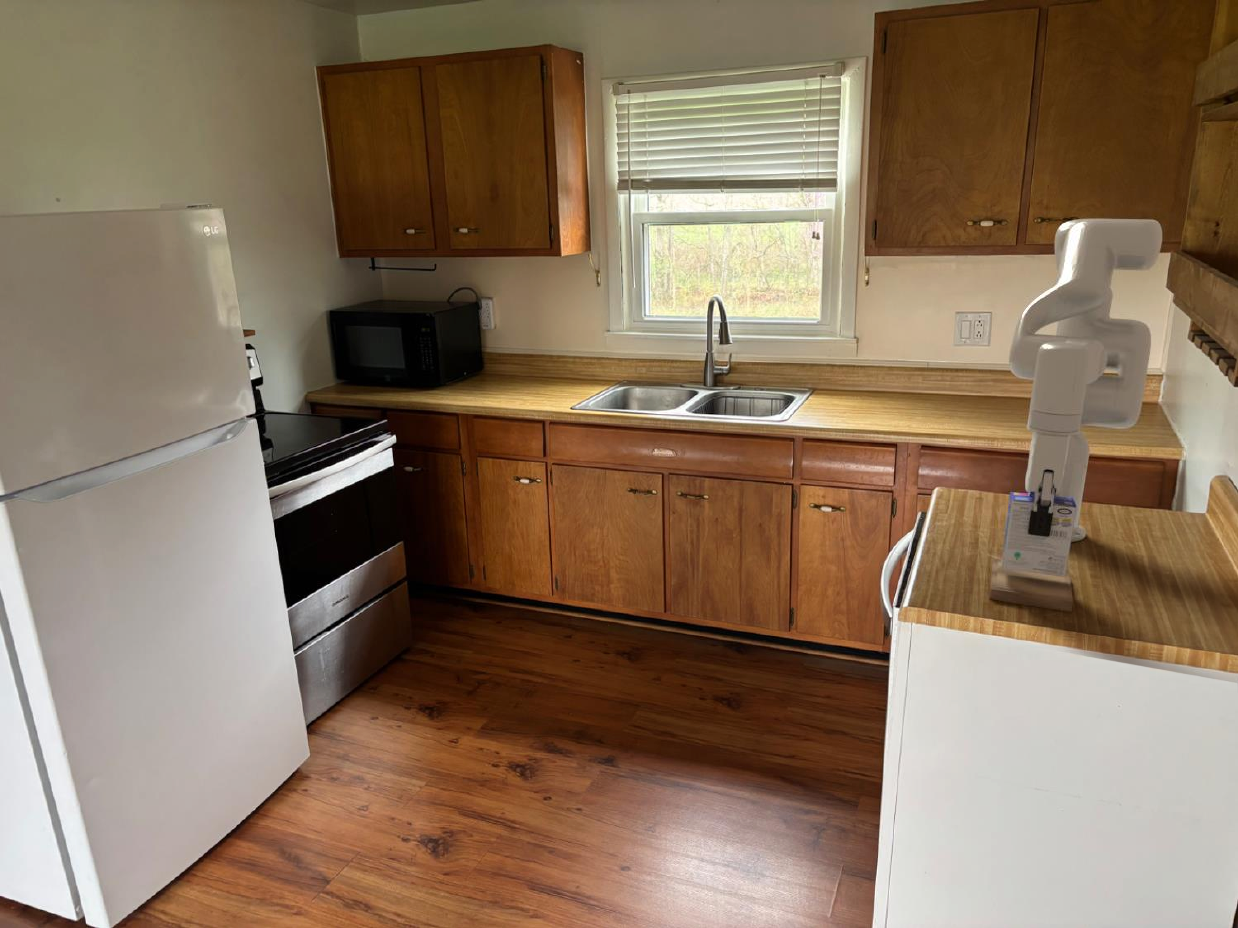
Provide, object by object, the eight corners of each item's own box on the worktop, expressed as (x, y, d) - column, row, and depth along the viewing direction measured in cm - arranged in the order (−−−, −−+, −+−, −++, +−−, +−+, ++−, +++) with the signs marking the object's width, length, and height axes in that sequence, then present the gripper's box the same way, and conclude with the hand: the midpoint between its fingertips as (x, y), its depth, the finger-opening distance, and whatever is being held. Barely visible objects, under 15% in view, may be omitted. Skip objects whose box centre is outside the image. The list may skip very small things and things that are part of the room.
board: (991, 568, 157) (993, 558, 157) (1067, 579, 153) (1068, 569, 152) (989, 598, 145) (991, 588, 144) (1071, 612, 140) (1073, 601, 140)
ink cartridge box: (1063, 566, 149) (1077, 483, 144) (1067, 578, 144) (1081, 493, 139) (1000, 557, 152) (1011, 476, 148) (1001, 569, 147) (1012, 486, 143)
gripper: (1027, 408, 150) (1013, 510, 155) (1028, 430, 135) (1013, 542, 140) (1077, 413, 147) (1061, 516, 152) (1084, 435, 132) (1066, 550, 137)
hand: (1038, 528), depth 146 cm, fingers closed on ink cartridge box, 5 cm apart
